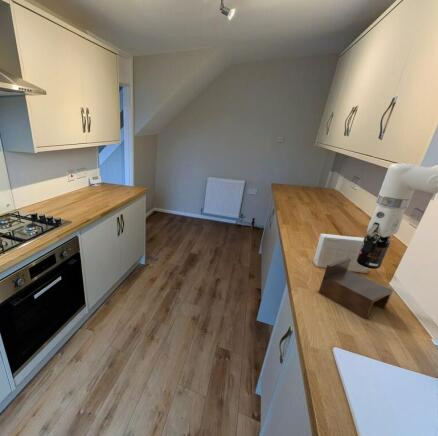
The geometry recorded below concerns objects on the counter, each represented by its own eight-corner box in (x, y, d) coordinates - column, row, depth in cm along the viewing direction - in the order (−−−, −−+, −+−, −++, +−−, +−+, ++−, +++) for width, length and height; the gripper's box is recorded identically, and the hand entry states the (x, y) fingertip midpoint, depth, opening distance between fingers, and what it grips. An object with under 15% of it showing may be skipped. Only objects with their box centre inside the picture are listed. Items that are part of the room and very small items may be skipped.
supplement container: (372, 261, 89) (382, 235, 85) (384, 270, 83) (396, 244, 79) (351, 258, 90) (360, 233, 86) (362, 268, 84) (372, 241, 80)
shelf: (385, 307, 89) (398, 278, 84) (365, 319, 83) (378, 288, 79) (338, 284, 103) (347, 257, 98) (318, 292, 97) (327, 265, 92)
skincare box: (361, 267, 115) (372, 238, 109) (367, 273, 110) (379, 243, 105) (311, 261, 120) (320, 232, 115) (315, 266, 115) (324, 237, 110)
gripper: (393, 208, 71) (373, 260, 78) (419, 202, 78) (399, 250, 84) (364, 201, 78) (347, 250, 84) (390, 196, 85) (373, 241, 91)
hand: (373, 249), depth 84 cm, fingers closed on supplement container, 6 cm apart
